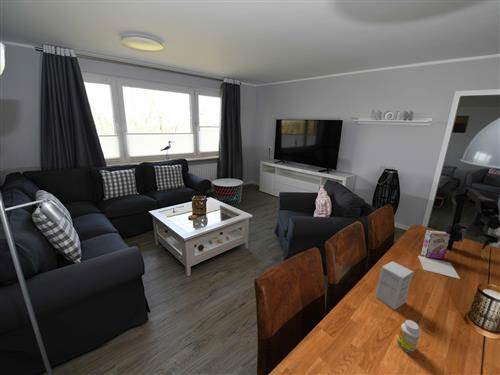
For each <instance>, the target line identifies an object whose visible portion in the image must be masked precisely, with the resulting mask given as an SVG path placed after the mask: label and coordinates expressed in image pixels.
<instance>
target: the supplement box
mask: <svg viewBox="0 0 500 375" xmlns="http://www.w3.org/2000/svg"><path fill="white" fill-rule="evenodd" d="M413 275H414V271H413V270H410V269H408V268H407V267H404V266H403V265H401V264H399V263H397V262H395V261H390V262H388V263H386V264H384V265H383V266H382V265H381V269H380V273H379V276H378V281H377V287H376V290H375V294H374V295H375V296H374V297H375V298H376V299H378V301H380V302H382V303H383V304H385V305H387V306H388V307H390V308H391V309H392V310H394V311H396V310H397V309H399V308H400V307H401V306H403V305H404V304H405V303H406V301H407V298H408V293H409V289H410V285H411V281H412V278H413Z"/></svg>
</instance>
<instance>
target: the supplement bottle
mask: <svg viewBox="0 0 500 375" xmlns="http://www.w3.org/2000/svg"><path fill="white" fill-rule="evenodd" d="M400 325H401V326H400V328H399V333H398V336H397V341H396V342H397V346H399V348H400V349H401V350H403V351H404V352H406V353H411V354H412V353H414V352H415V351H416V348H417V345H418V341H419V339H420V334H421V332H420V330H419V329H420V328H419V327H420V326H419V325H418V323H416V322H415V321H414V320H411V319H407V320H405V322H404V323H402V324H400Z"/></svg>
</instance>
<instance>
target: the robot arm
mask: <svg viewBox="0 0 500 375" xmlns="http://www.w3.org/2000/svg"><path fill="white" fill-rule="evenodd" d="M450 197H451V201H452V203H453V207H452V212H451V215H450V216H451V217H450V221H449V225H448V226H446V227H445V228H444V231H443V232H446V233H448V234H450V239H449V242H448V246H447V250H449V251H455V249H454V244H455V242H456V243H459V242H460V243H462V242H463V241H464V238H465V234H466V235H468V236H471V237H474V238H478V237H482V238H483V237H484V238H486V240H485V242H484V244H483V245H482V247H481V249H480V250H484V249H485V248H486V247H487V246H488V245H489V244H494V243H495V244H498V243H500V235H498V234H494V233H490V234H488V233H487V232H486V228H488V229H491V230H497V229H500V217H499V215H500V208H499V204H498V202H497V201H496V200H494V199H492V198H488V197H485V196H484V195H483V194H482V193H480V192H479V191H477V190H476V188H474V187H462V188H460V189H455V190H454V191H452V192H451V196H450ZM470 199H471V200H472V201H473V202H474V203H475V204H474V206H475V207H476V208H474V210H475V213H474V214H475V215H474V217H473V220H472V222H471V224H470V225H469V226H467V225H466V224H464V223H461V220H462V216H463V211H464V207H465V205H466V204H468V203H469V201H470Z"/></svg>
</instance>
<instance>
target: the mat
mask: <svg viewBox="0 0 500 375" xmlns="http://www.w3.org/2000/svg"><path fill="white" fill-rule="evenodd" d="M417 257H418V259H419V261H420V264H421V266H422V269H423V270H424V271H426V272H428V273H429V272H430V273H433V274H438V275H441V276H445V277H450V278H453V279H457V280H461V277H460V276H459V274H458V273H457V271H456V270H455V267H454V265H452V263H451V262H448V261H444V260H441V259H439V260H438V259H436V258H426V257H424V256H423V255H418V256H417Z"/></svg>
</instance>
